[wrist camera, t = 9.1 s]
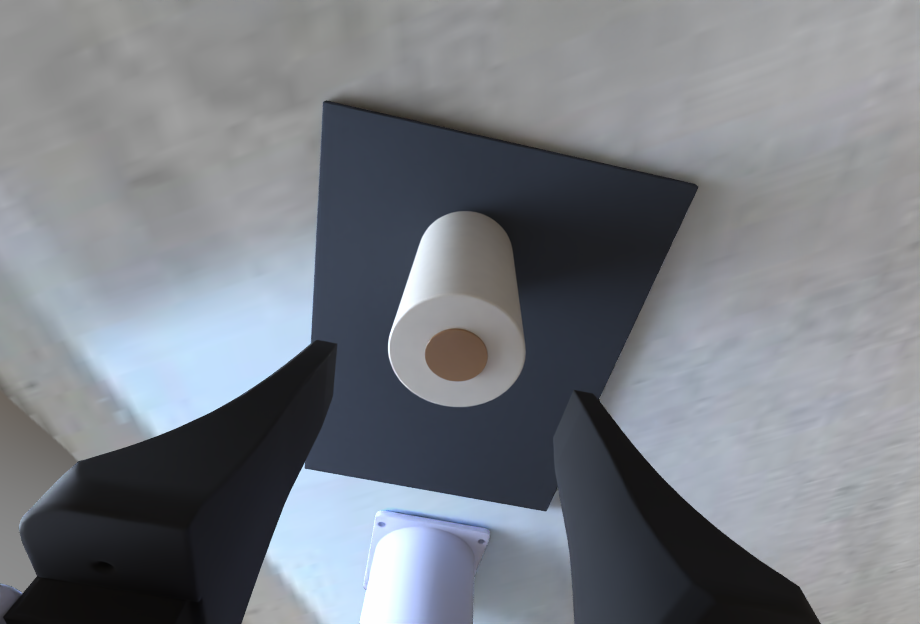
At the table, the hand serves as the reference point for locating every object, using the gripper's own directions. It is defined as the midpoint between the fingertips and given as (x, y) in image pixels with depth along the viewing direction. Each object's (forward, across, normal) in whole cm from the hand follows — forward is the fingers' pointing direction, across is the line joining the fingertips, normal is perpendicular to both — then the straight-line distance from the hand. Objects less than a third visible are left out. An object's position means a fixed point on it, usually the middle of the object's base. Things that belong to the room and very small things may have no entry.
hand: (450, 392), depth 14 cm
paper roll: (+5, 0, +2) cm, 5 cm away
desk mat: (+10, -1, +5) cm, 11 cm away
